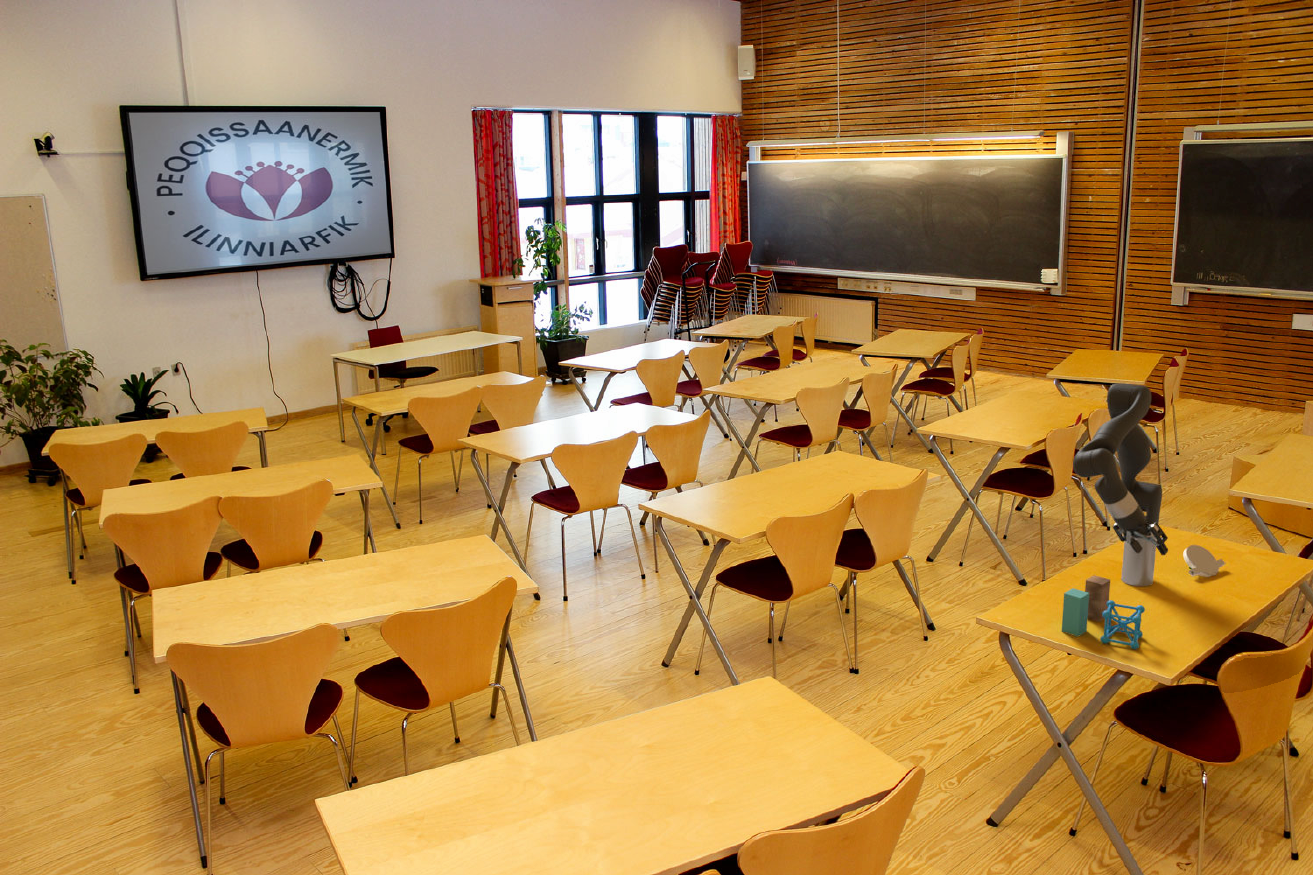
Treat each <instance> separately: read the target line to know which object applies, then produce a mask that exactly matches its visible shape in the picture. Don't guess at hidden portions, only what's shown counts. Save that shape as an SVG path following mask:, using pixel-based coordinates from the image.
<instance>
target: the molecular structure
mask: <svg viewBox="0 0 1313 875" xmlns="http://www.w3.org/2000/svg"><path fill="white" fill-rule="evenodd" d="M1107 606H1108V609H1107V610H1106V611H1104V612H1103V613H1102V616H1103V617H1104V618H1105V619H1104V626H1103V628H1104V630H1103V635H1101V637H1100V642H1101V643H1102V644H1105V645H1106V644H1108V643H1110V642H1111V643H1115V644H1121V645H1125V646H1130V648H1131V649H1133V650H1137V649H1139V647H1140V643H1139V642H1138V640H1139V639H1140V638H1142V637H1143V636H1144V635H1143V632H1142V631H1141V622H1142V614H1144V612H1145V610H1146V608H1145V607H1144V606H1143V605H1141V604H1139V605H1136V606H1130V605H1125V604H1119V603H1116V602H1115V601H1114V600H1111V599H1109V601H1108V602H1107ZM1115 607H1117V608H1121V609H1122V608H1123V609H1129V610H1134V611H1135V612H1133V613H1132V614H1131V615H1130V616H1125V615H1120V614H1119V613H1118V610H1116V608H1115ZM1113 613H1114V614H1113ZM1112 621H1114V622H1116V623H1117V624H1115V625H1112ZM1130 624H1134V628H1132V627H1131V626H1128V625H1130ZM1116 632H1118V633H1123V634H1124V633H1125V634H1126V635H1127V637H1128V639H1129V641H1130V642H1128V641H1127V642H1126V641H1124V640H1123V641H1122V640H1117V639H1111V637H1113V635H1114V634H1115V633H1116ZM1131 635H1133V636H1131Z"/></svg>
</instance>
